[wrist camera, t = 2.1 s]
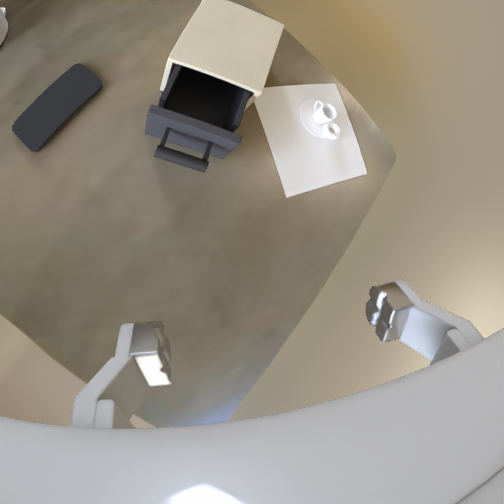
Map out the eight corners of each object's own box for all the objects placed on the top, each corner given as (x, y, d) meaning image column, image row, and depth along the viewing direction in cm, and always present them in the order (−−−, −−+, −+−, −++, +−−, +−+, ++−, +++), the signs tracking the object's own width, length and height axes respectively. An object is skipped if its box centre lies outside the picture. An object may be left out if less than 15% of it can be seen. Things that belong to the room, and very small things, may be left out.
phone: (105, 83, 36) (34, 154, 33) (105, 86, 37) (35, 155, 34) (78, 60, 34) (9, 127, 30) (78, 63, 35) (11, 129, 31)
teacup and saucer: (340, 139, 53) (354, 133, 49) (309, 145, 50) (322, 139, 47) (325, 98, 52) (338, 91, 48) (293, 101, 49) (304, 92, 45)
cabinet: (238, 118, 45) (262, 93, 37) (159, 90, 40) (168, 57, 31) (260, 52, 47) (284, 25, 38) (193, 26, 41) (207, -7, 33)
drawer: (214, 185, 43) (230, 174, 36) (134, 160, 39) (134, 143, 32) (246, 85, 45) (266, 62, 38) (178, 59, 40) (188, 32, 33)
